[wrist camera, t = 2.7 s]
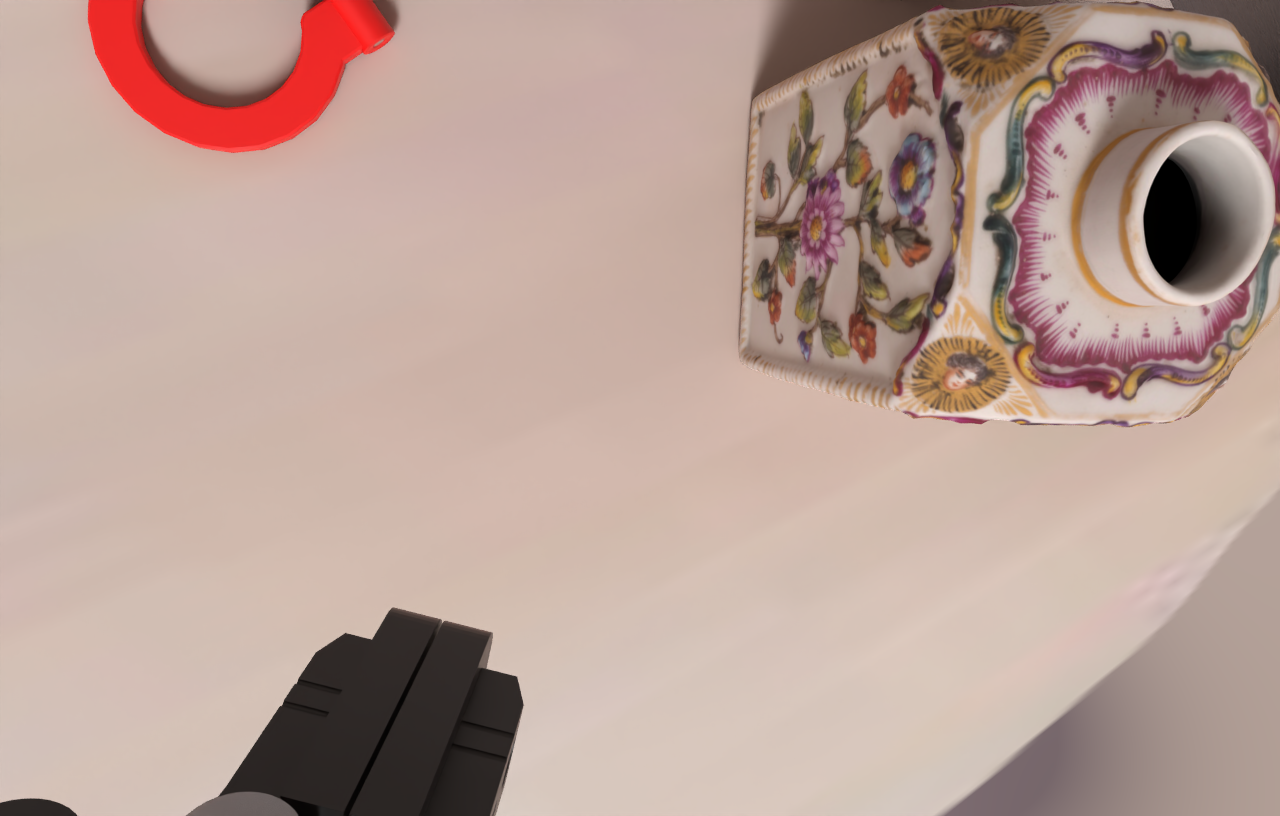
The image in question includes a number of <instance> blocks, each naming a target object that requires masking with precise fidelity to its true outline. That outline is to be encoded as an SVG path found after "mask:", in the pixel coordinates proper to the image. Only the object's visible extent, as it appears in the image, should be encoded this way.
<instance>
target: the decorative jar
mask: <svg viewBox="0 0 1280 816" xmlns="http://www.w3.org/2000/svg"><path fill="white" fill-rule="evenodd" d="M744 232H745V237H744V260H743V291H742V307H741V325H740V341H739V357H740V361H741V362H742V364H743V365H745V366H746V367H748V368H750V369H752V370H755V371H757V372H760V373H763V374H765V375H768V376H771V377H773V378H776V379H778V380H782V381H786V382H789V383H793V384H796V385H799V386H804V387H808V388H811V389H816V390H820V391H822V392H826V393H828V394H832V395H834V396H839V397H841V398H844V399H848V400H850V401H855V402H859V403H862V404H867V405H872V406H876V407H879V408H884V409H887V410H894V411H901V412H903V413H905V414H907V415H908V416H910V417H912V418H936V419H942V420H951V421H955V422H958V423H975V424H982V423H984V422H986V421H988V420H1005V421H1011V422H1015V423H1018V424H1020V425H1083V426H1097V425H1104V424H1112V425H1115V426H1118V427H1134V426H1140V425H1146V424H1152V423H1170V422H1173V421H1176V420H1179V419H1181V418H1182V417H1188V416H1190V415H1191V414H1192V413H1194V412H1196V411H1197V410H1199V409H1200V408H1201V407H1202V406H1203V404H1204V403H1205V402H1206V401H1207V400H1208V399H1209V398H1210V397H1211V396H1212V395H1213V394H1214V393H1215V392H1216V391H1217V390H1219V389H1221V388H1222V387H1223V386H1224V384H1225V383H1226V381H1227V380H1228V378H1229V376H1230V373H1231V371H1232V370H1233V368H1234V367H1235V365H1236V363H1237V362H1238V361H1239V360H1241V359H1242V358H1243V357H1244V355H1245V354H1246V353H1247V352H1248V351H1249V350H1250V348H1251V345H1252V343H1253V341H1254V340H1255V339H1256V338H1257V337H1258V335H1259V334H1260V333H1261V332H1262V331H1263V330H1264V328H1265V327H1266V326H1267V325H1268V324H1269V323H1270V322H1271V321H1272V319H1273V318H1274V316H1275V315H1276V314H1277V312H1278V311H1279V308H1280V104H1279V102H1278V101H1277V99H1276V97H1275V95H1274V92H1273V89H1272V86H1271V84H1270V77H1269V75H1268V74H1267V72H1266V70H1265V68H1264V67H1262V66H1261V65H1259V64H1258V63H1257V62H1256V61H1255V59H1254V58H1253V55H1252V52H1251V48H1250V45H1249V42H1248V41H1247V40H1245V38H1244V37H1243V36H1241V35H1240V34H1239V32H1238V31H1237V29H1236V28H1235V26H1234V25H1233V24H1232V23H1231V22H1229V21H1227V20H1226V19H1223V18H1219V17H1213V16H1208V15H1203V14H1198V13H1193V12H1188V11H1182V10H1177V9H1173V8H1161V7H1159V6H1156V5H1153V4H1149V3H1144V2H1138V1H1136V2H1131V3H1125V2H1109V3H1099V2H1083V3H1063V2H1059V1H1056V2H1053V3H1051V4H1048V5H1041V6H1031V7H1022V6H1018V5H1015V4H1002V5H989V6H985V7H980V8H973V9H965V10H957V9H951V8H945V7H943V6H942V5H938V6H936V7H933V8H932V9H930V10H928V11H927V12H925V13H924V14H922V15H920V16H916V17H914V18H912V19H910V20H909V21H907V22H905V23H903V24H900V25H898V26H896V27H894V28H893V29H890V30H888V31H886V32H884V33H883V34H880V35H878V36H876V37H874V38H871V39H869V40H867V41H864V42H862V43H859V44H857V45H855V46H853V47H851V48H848V49H846V50H845V51H842V52H840V53H838V54H836V55H833V56H831V57H829V58H827V59H825V60H823V61H821V62H819V63H817V64H815V65H813V66H811V67H809V68H807V69H806V70H804V71H801V72H799V73H797V74H795V75H793V76H792V77H789V78H787V79H786V80H784V81H782V82H780V83H779V84H776V85H775V86H772V87H771V88H768V89H767V90H765V91H764V92H762V93H760V94H759V95H758V96H757V97H755V98H754V99H753V101H752V109H751V123H750V140H749V153H748V166H747V185H746V206H745V230H744Z"/></svg>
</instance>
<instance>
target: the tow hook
mask: <svg viewBox="0 0 1280 816" xmlns="http://www.w3.org/2000/svg"><path fill="white" fill-rule="evenodd" d="M143 2H144V0H89V3H88V23H89V28H90V32H91V36H92V41H93V45H94V49H95V54H96V56H97V58H98V60H99V61H100V63H101V65H102V67H103V69H104V71H105V73H106V75H107V77H108V79H109V81H110V83H111V85H112V86H113V87H114V88H115V90H116V91H117V92H118V93H119V94H120V95H121V96H122V98H123V99H124V100H125V101H126V102H127V103H128V104H129V106H130V107H131V108H132V109H133V110H134V111H135V112H136V113H137V114H138V115H140V116H141V117H143V118H144V119H145V120H147V121H148V122H150V123H151V124H152V125H154V126H155V127H157V128H158V129H159V130H161V131H162V132H164V133H166V134H168V135H170V136H173V137H175V138H178V139H180V140H182V141H185V142H187V143H190V144H192V145H195V146H197V147H200V148H205V149H211V150H218V151H225V152H231V153H235V152H245V151H255V150H264V149H267V148H270V147H272V146H275V145H277V144H280V143H283V142H285V141H288V140H290V139H293V138H294V137H296V136H297V135H298V134H299V133H301V132H302V131H303V130H305V129H306V128H307V127H309V126H310V125H311V124H313V123H314V122H315V121H317V119H318V118H319V117H320V115H321V114H322V113H323V111H324V110H325V109H326V107H327V106H328V105H329V103H330V102H331V100H332V99H333V98H334V96H335V94H336V91H337V88H338V85H339V83H340V80H341V77H342V75H343V72H344V69H345V64H346V63H348V62H349V61H351V60H352V59H354V58H355V57H357V56H358V55H360V54H361V53H364V54H370V53H372V52H374V51H376V50H378V49H380V48H381V47H383V46H384V45H385V44H386V43H388V42H389V41H390V40H391V38H392V37H393V36H394V34H395V32H394V31H393V30H392V28H391V27H390V25H389V24H388V22H387V21H386V19H385V18H384V17H383V15H382V14H381V12H380V11H379V9H378V8H377V7H376V5H375V4H374V2H373V1H372V0H323V1H322V2H320V3H319V4H317V5H316V6H314V7H313V8H311V9H310V10H308V11H307V12H305V13H304V14H303V16H302V19H301V28H302V40H301V52H300V55H299V58H298V60H297V63H296V66H295V69H294V71H293V72H292V74H291V75H290V76H289V78H288V79H287V80H286V82H285V83H284V85H283V86H282V87H281V88H279V89H278V90H277V91H275V92H274V93H273V94H271V95H270V96H269V97H267V98H266V99H264V100H261V101H258V102H256V103H253V104H250V105H248V106H240V107H229V108H224V107H218V106H212V105H206V104H203V103H200V102H198V101H195V100H193V99H191V98H188V97H186V96H185V95H183V94H182V93H180V92H179V91H178V90H176V89H175V88H174V87H172V86H171V85H170V84H169V83H168V82H167V81H166V79H165V78H164V77H163V76H162V75H161V73H160V72H159V71H158V70H157V69H156V67H155V65H154V63H153V61H152V59H151V57H150V55H149V53H148V51H147V49H146V47H145V42H144V38H143V33H142V29H141V19H142V5H143Z"/></svg>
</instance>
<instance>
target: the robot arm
mask: <svg viewBox="0 0 1280 816" xmlns="http://www.w3.org/2000/svg"><path fill="white" fill-rule="evenodd" d="M492 638H493V633H492V632H488V631H484V630H480V629H476V628H472V627H468V626H464V625H460V624H456V623H452V622H448V621H444V622H443V623H442V620H441V619H437V618H433V617H429V616H425V615H421V614H417V613H413V612H409V611H406V610H402V609H398V608H392V609H391V610H390V611H389V612H388V614H387V615H386V617H385V619H384V620H383V622H382V624H381V626H380V627H379V629H378V631H377V632H376V634H375V636H374V637H373V639H372V640H371V639H367V638H363V637H359V636H355V635H351V634H347V633H345V634H344V635H342V636H340V637H339V638H337V639H336V640H334V641H333V642H331V643H330V644H328V645H327V646H325V647H324V648H322V649H321V650H319V651H318V652H316V653H315V655H314V656H313V658H312V659H311V661H310V662H309V664H308V665H307V667H306V668H305V670H304V671H303V673H302V674H301V676H300V677H299V679H298V682H297V684H295V685H294V686H293V688H292V689H291V691H290V692H289V694H288V695H287V697H286V698H285V700H284V702H283V705H282V706H280V707H279V709H278V710H277V712H276V713H275V715H274V716H273V717H272V719H271V720H270V722H269V723H268V725H267V726H266V728H265V729H264V731H263V732H262V734H261V735H260V737H259V738H258V740H257V741H256V743H255V744H254V746H253V747H252V749H251V750H250V752H249V753H248V755H247V756H246V758H245V759H244V761H243V762H242V764H241V765H240V767H239V768H238V770H237V771H236V773H235V774H234V776H233V777H232V779H231V780H230V782H229V783H228V785H227V786H226V788H225V789H224V790H223V791H222V793H221V794H220V795H219V796H218V797H216V798H214V799H212V800H209V801H207V802H205V803H203V804H202V805H200V806H198V807H197V808H195V809H194V810H193V811H191V812H190V813H189V814H188V815H187V816H495V815H496V812H497V809H498V805H499V802H500V799H501V795H502V792H503V788H504V785H505V781H506V777H507V773H508V769H509V765H510V760H511V756H512V752H513V748H514V744H515V739H516V735H517V731H518V727H519V722H520V718H521V714H522V710H523V706H524V705H523V700H522V696H521V692H520V687H519V683H518V679H517V677H516V676H512V675H508V674H504V673H500V672H496V671H492V670H488V669H486V668H487V663H488V658H489V653H490V649H491V644H492ZM0 816H77V815H76V813H74V812H73V811H72V810H71V809H70V808H68V807H66V806H64V805H62V804H60V803H57V802H54V801H51V800H44V799H18V800H11V801H6V802H2V803H0Z"/></svg>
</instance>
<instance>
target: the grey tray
mask: <svg viewBox="0 0 1280 816" xmlns="http://www.w3.org/2000/svg"><path fill="white" fill-rule="evenodd" d="M1171 2H1172V4H1173V7H1174V9H1177V10H1182V11H1188V12H1193V13H1198V14H1203V15H1208V16H1213V17H1219V18H1223V19H1226V20H1227V21H1229V22H1231V23H1232V24H1233V25H1234V26H1235V28H1236V29H1237V31H1238V32H1239V34H1240V35H1241V36H1243V37H1244V38H1245V40H1247V41H1248V42H1249V45H1250V48H1251V52H1252V55H1253V58H1254V59H1255V61H1256V62H1257V63H1258V64H1259V65H1261V66H1262V67H1264V68H1265V70H1266V72H1267V74H1268V75H1269V77H1270V84H1271V86H1272V89H1273V92H1274V95H1275V97H1276V99H1277V101H1278V102H1279V104H1280V0H1171Z"/></svg>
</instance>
